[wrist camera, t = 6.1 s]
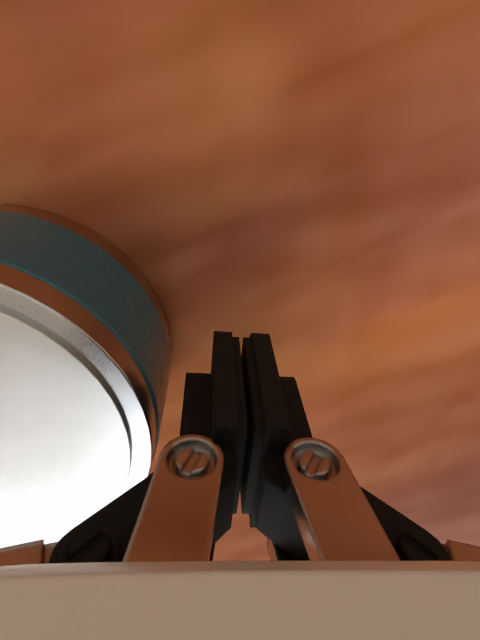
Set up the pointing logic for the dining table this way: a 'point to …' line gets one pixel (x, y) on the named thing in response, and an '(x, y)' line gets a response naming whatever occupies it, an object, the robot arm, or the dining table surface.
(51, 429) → the tin
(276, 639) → the robot arm
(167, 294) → the dining table surface
